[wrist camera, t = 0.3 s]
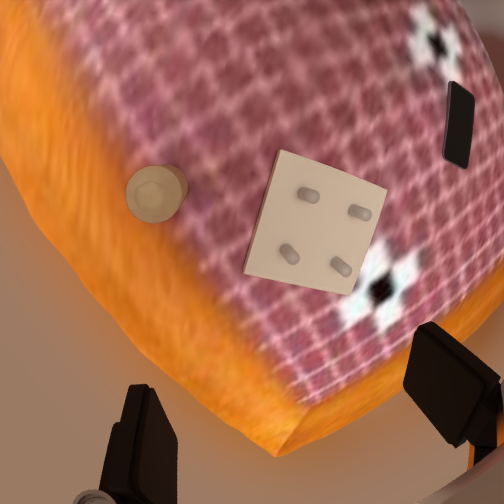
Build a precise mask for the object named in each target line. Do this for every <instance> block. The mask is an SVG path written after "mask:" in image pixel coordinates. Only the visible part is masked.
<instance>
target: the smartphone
mask: <svg viewBox="0 0 504 504" xmlns="http://www.w3.org/2000/svg"><path fill="white" fill-rule="evenodd" d="M474 111H475V98H474V96H473V94H472V93H470V92H469V91H468V90H466V89H465V88H463V87H462V86H461V85H459V84H458V83H457V82H455V81H450V82H449V84H448V97H447V113H446V125H445V134H444V143H443V151H442V155H443V158H444V159H445V160H446V161H448V162H450V163H452V164H454V165H456V166H458V167H460V168H461V169H464V170H465V169H467V167H468V163H469V157H470V150H471V142H472V134H473V124H474Z"/></svg>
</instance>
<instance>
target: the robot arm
mask: <svg viewBox="0 0 504 504" xmlns="http://www.w3.org/2000/svg"><path fill="white" fill-rule="evenodd" d="M500 378H501V377H500V376H499V375H498V374H497V373H496V372H494V371H493V370H492V369H491V368H490V367H488V366H487V365H486V364H485V363H484V362H483V361H481V360H480V359H479V358H478V357H477V356H475V355H474V354H473V353H472V352H471V351H469V350H468V349H467V348H466V347H464V346H463V345H462V344H461V343H460V342H458V341H457V340H456V339H455V338H453V337H452V336H451V335H450V334H448V333H447V332H446V331H444V330H443V329H442V328H441V327H439V326H438V325H437V324H436V323H434V322H432V321H430V322H427V323H425V324H422V325H420V326H418V328H417V330H416V331H415V333H414V337H413V342H412V347H411V351H410V356H409V360H408V365H407V369H406V373H405V377H404V380H403V387H404V389H405V391H406V392H407V393H408V395H409V396H410V397H411V398H412V399H413V401H414V402H415V403H416V404H417V406H418V407H419V408H420V409H421V410H422V412H423V413H424V414H425V415H426V417H427V418H428V419H429V420H430V422H431V423H432V424H433V425H434V427H435V428H436V429H437V430H438V431H439V433H440V434H441V435H442V436H443V438H444V439H445V440H446V442H447V443H449V444H452V445H453V446H454V447H455V448H457V447H459V446H460V445H462V444H463V443H465V442H466V440H468V441H469V442H470V446H469V447H470V448H469V459H468V468H467V471H466V472H465V473H464V474H462V475H461V476H459V477H458V478H456V479H455V480H453V481H452V482H451V483H449V484H447V485H446V486H444V487H443V488H441V489H440V490H438V491H436V492H435V493H433V494H431V495H429V496H428V497H426V498H424V499H422V500H421V501H419V502H417V503H415V504H504V380H503V381H502V383H501V384H500V383H499V380H500ZM177 450H178V442H177V437H176V435H175V432H174V431H173V428H172V426H171V424H170V422H169V420H168V418H167V416H166V414H165V412H164V410H163V407H162V405H161V403H160V401H159V398H158V396H157V394H156V392H155V390H154V388H149V386H148V385H147V384H137V385H130V386H129V389H128V392H127V396H126V400H125V404H124V408H123V412H122V416H121V420H120V422H117V423H115V424H114V425H113V427H112V431H111V435H110V439H109V443H108V447H107V452H106V457H105V461H104V466H103V470H102V475H101V480H100V486H99V490H87V491H84V492H82V493H80V494H79V495H77V497H76V498H75V500H74V501H73V504H177V453H178V451H177Z"/></svg>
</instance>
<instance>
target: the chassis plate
mask: <svg viewBox="0 0 504 504" xmlns="http://www.w3.org/2000/svg"><path fill="white" fill-rule="evenodd" d="M386 193H387V190H386V189H384V188H381V187H379V186H377V185H374V184H372V183H370V182H367V181H365V180H363V179H360V178H358V177H355V176H353V175H350V174H348V173H345V172H343V171H340V170H338V169H335V168H333V167H330V166H327V165H325V164H322V163H319V162H316V161H314V160H311V159H308V158H305V157H302V156H299V155H297V154H294V153H291V152H288V151H285V150H282V149H280V150H278V152H277V155H276V158H275V162H274V165H273V168H272V172H271V175H270V178H269V182H268V185H267V189H266V192H265V195H264V199H263V202H262V205H261V209H260V212H259V215H258V219H257V222H256V226H255V229H254V232H253V236H252V239H251V242H250V246H249V249H248V253H247V256H246V259H245V263H244V266H243V272H244V274H248V275H253V276H257V277H262V278H266V279H271V280H276V281H280V282H285V283H290V284H295V285H299V286H304V287H309V288H314V289H319V290H324V291H329V292H333V293H338V294H343V295H349V296H350V294H351V292H352V289H353V287H354V284H355V282H356V279H357V277H358V274H359V272H360V269H361V267H362V264H363V261H364V259H365V256H366V253H367V250H368V248H369V245H370V242H371V239H372V236H373V234H374V231H375V228H376V225H377V222H378V219H379V216H380V213H381V209H382V206H383V203H384V200H385V197H386Z"/></svg>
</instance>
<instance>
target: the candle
mask: <svg viewBox="0 0 504 504" xmlns="http://www.w3.org/2000/svg"><path fill="white" fill-rule="evenodd" d="M187 191H188V182H187V179H186V177H185V175H184V173H183V172H182V171H181V170H180V169H178V168H177V167H175V166H172V165H152V166H147V167H144V168H142V169H140V170H138V171H137V172H136V173H135V174H134V175H133V176H132V177H131V179H130V180H129V182H128V185H127V188H126V202H127V205H128V207H129V209H130V211H131V212H132V214H133V215H134V216H135V217H137V218H138V219H139V220H141V221H144V222H147V223H160V222H164V221H166V220H168V219H169V218H171V217H172V216H173V215H174V214H175V213H176V211H177V210H178V208H179V207H180V205H181V204H182V202H183V201H184V199H185V197H186V195H187Z"/></svg>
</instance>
